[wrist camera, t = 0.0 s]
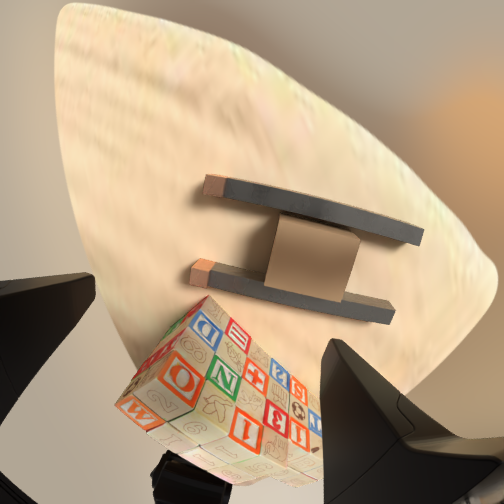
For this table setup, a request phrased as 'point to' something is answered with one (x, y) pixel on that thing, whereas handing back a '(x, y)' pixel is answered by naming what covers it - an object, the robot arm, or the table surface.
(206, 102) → the table surface
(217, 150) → the table surface
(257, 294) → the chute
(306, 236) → the walnut block
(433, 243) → the table surface
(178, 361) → the stack of blocks
